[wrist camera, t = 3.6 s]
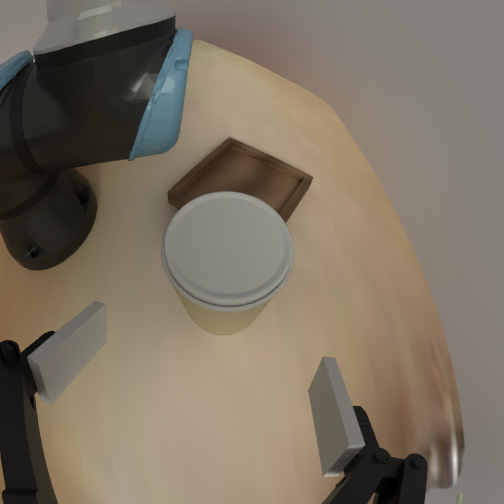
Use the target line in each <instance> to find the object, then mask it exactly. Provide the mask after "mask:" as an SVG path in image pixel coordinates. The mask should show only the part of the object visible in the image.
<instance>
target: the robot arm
mask: <svg viewBox="0 0 504 504" xmlns="http://www.w3.org/2000/svg"><path fill="white" fill-rule="evenodd" d="M46 6H47V17H48V24H47V26H46V29H45V30H44V32H43V33H42V35H41V37H40V38H39V40H38V42H37V43H36V45H35V47H34V49H33V53H34V57H33V56H32V55H31V54H30V52H29V51H28V50H25V51H23V52H20V53H18V54H16V55H15V56H13V57H12V58H10V59H9V60H7V61H6V62H4V63H3V64H1V65H0V231H1V234H2V237H3V239H4V242H5V245H6V247H7V249H8V251H9V253H10V254H11V255H12V257H13V258H14V259H15V260H16V261H17V262H18V263H19V264H20V265H22V266H23V267H25V268H27V269H30V270H44V269H48V268H51V267H53V266H56V265H58V264H59V263H61V262H63V261H64V260H66V259H67V258H68V257H69V256H71V255H72V254H73V253H74V252H75V251H76V250H77V249H78V248H79V247H80V245H81V244H82V243H83V241H84V240H85V239H86V237H87V235H88V234H89V232H90V230H91V228H92V226H93V223H94V220H95V216H96V209H97V205H96V199H95V196H94V193H93V191H92V189H91V186H90V184H89V183H88V181H87V180H86V179H85V178H84V177H83V176H82V175H81V174H80V173H79V172H78V171H77V170H76V169H75V167H80V166H86V165H91V164H97V163H104V162H110V161H117V160H124V159H128V161H132V160H134V159H135V158H137V157H143V156H149V155H156V154H162V153H165V152H167V151H169V150H170V149H171V148H172V147H173V146H174V145H175V144H176V142H177V140H178V137H179V132H180V126H181V119H182V111H183V104H184V96H185V89H186V81H187V69H188V66H189V58H190V54H191V47H192V40H193V33H192V31H191V30H188V29H184V28H183V27H179V28H178V29H175V14H176V11H175V9H174V8H172V7H171V6H170V5H168V4H167V3H166V2H165V1H163V0H46ZM34 58H35V62H34V63H33V59H34ZM106 341H107V339H106V304H103V303H100V302H98V301H94V302H93V303H92V304H90V305H89V306H88V307H87V308H85V309H84V310H83V311H82V312H80V313H79V314H78V315H77V316H75V317H74V318H73V319H72V320H70V321H69V322H68V323H67V324H66V325H64V326H63V327H62V328H61V329H60V330H58V331H57V332H54V331H50V332H47V333H44V334H43V335H42V336H41V337H39V339H37V340H36V341H35V342H34V343H32V344H31V345H30V346H28V347H27V348H26V349H25V350H24V351H23V352H21V353H20V349H19V345H18V344H17V343H16V342H14V341H11V340H5V341H2V342H0V454H1V462H2V469H3V475H4V481H5V487H6V488H5V490H4V491H2V499H3V503H4V504H58V502H57V499H56V496H55V493H54V490H53V487H52V483H51V480H50V476H49V473H48V469H47V465H46V461H45V457H44V452H43V447H42V442H41V437H40V431H39V425H38V417H37V409H36V400H35V396H34V394H35V393H36V392H37V391H38V393H39V396H40V399H42V400H43V401H45V402H47V403H48V404H50V405H52V404H53V403H54V402H55V400H56V399H57V398H58V397H59V396H60V394H61V393H62V392H63V391H64V390H65V388H66V387H67V386H68V385H69V384H70V383H71V381H72V380H73V379H74V378H75V377H76V375H77V374H78V373H79V372H80V371H81V370H82V369H83V367H84V366H85V365H86V364H87V363H88V362H89V360H90V359H91V358H92V357H93V356H94V355H95V354H96V353H97V351H98V350H99V349H100V348H101V347H102V346H103V345H104V344H105V342H106ZM308 393H309V398H310V404H311V409H312V415H313V420H314V426H315V431H316V437H317V443H318V449H319V455H320V461H321V467H322V473H323V476H338V475H339V474H340V473H341V472H342V471H344V475H345V476H344V477H343V479H342V480H341V481H340V482H339V483H338V484H337V485H335V486H336V487H335V489H334V490H333V491H332V492H331V493H330V495H329V496H328V497H327V498H326V499H325V501H324V502H323V503H322V504H367V503H368V501H369V500H370V498H371V497H372V495H373V493H374V492H375V497H374V500H373V504H424V501H425V492H426V481H427V461H426V460H425V458H424V457H423V456H421V455H419V454H410V455H408V456H407V457H406V458H405V459H400V458H393V457H391V456H390V454H389V453H388V452H387V451H386V450H385V449H383V448H380V447H379V445H378V442H377V440H376V437H375V434H374V431H373V429H372V427H371V424H370V421H369V418H368V416H367V413H366V412H365V411H364V410H363V408H362V407H361V406H352V404H351V401H350V398H349V395H348V392H347V389H346V387H345V384H344V381H343V378H342V376H341V373H340V370H339V367H338V365H337V362H336V359H335V358H330V357H323V358H322V360H321V363H320V365H319V367H318V370H317V372H316V374H315V376H314V378H313V381H312V383H311V385H310V387H309V389H308Z"/></svg>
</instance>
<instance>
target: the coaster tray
mask: <svg viewBox="0 0 504 504" xmlns="http://www.w3.org/2000/svg"><path fill="white" fill-rule="evenodd" d="M312 180H313V177H312V176H310V175H308V174H306V173H304V172H303V171H301V170H299V169H297V168H295V167H293V166H291V165H289V164H287V163H285V162H283V161H281V160H278V159H276V158H274V157H272V156H270V155H268V154H266V153H264V152H262V151H259V150H257V149H255V148H253V147H251V146H248V145H246V144H244V143H242V142H239V141H237V140H235V139H232V138H230V137H229V138H228V139H227V140H226V141H224V142H223V143H222V144H221V145H220V146H218V147H217V148H216V149H215V150H214V151H213V152H211V153H210V154H209V155H208V156H207V157H206V158H204V159H203V160H202V161H201V162H200V163H199V164H198V165H197V166H195V167H194V168H193V169H192V170H191V171H190V172H189V173H188V174H187V175H186V176H184V177H183V178H182V179H181V180H180V181H179V182H178V183H177V184H176V185H175V186H174V187H173V188H172V189H171V190H169V191H168V192H167V193H168V200H169V203H170V204H172V205H174V206H176V207H177V208H179V209H181V208H182V207H183V206H184V205H185V204H187V203H188V202H190V201H191V200H193V199H195V198H197V197H200V196H202V195H205V194H209V193H214V192H224V191H229V192H239V193H243V194H247V195H250V196H253V197H255V198H258V199H260V200H262V201H263V202H265V203H266V204H268V205H269V206H270V207H272V208H273V209H274V210H275V211H276V212H277V213H278V214H279V215H280V216H281V218H282V219H283V220H284V222H285V224H286V222H287V220H288V219H289V217H290V216H291V214H292V213H293V211H294V210H295V208H296V207H297V205H298V204H299V202H300V201H301V199H302V198H303V196H304V195H305V193H306V191H307V190H308V188H309V187H310V185H311V182H312Z"/></svg>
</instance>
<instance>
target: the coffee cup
mask: <svg viewBox="0 0 504 504" xmlns="http://www.w3.org/2000/svg"><path fill="white" fill-rule="evenodd" d="M161 256H162V263H163V266H164V269H165V272H166V274H167V276H168V278H169V280H170V281H171V283H172V284H173V286H174V287H175V289H176V291H177V293H178V295H179V297H180V299H181V301H182V303H183V304H184V306H185V308H186V310H187V312H188V313H189V315H190V317H191V318H192V320H193V321H194V322H195V323H196V324H197V325H198V326H199V327H200V328H202V329H203V330H205V331H207V332H209V333H211V334H215V335H232V334H236V333H238V332H240V331H242V330H244V329H245V328H246V327H248V326H249V325H250V324H251V323H252V322H253V321H254V320H255V319H256V317H257V316H258V315H259V314H260V312H261V311H262V310H263V309H264V307H265V306H266V305H267V304H268V303H269V301H270V300H271V299H272V297H273V296H274V295H275V294H276V293H277V292H278V291H279V290H280V289H281V288H282V287H283V286H284V284H285V283H286V281H287V279H288V277H289V275H290V273H291V270H292V267H293V261H294V246H293V241H292V238H291V235H290V232H289V230H288V227H287V225H286V224H285V222H284V220H283V219H282V218H281V216H280V215H279V214H278V213H277V212H276V211H275V210H274V209H273V208H272V207H270V206H269V205H268V204H266V203H265V202H263V201H262V200H260V199H258V198H255V197H253V196H250V195H247V194H243V193H239V192H229V191H224V192H214V193H209V194H205V195H202V196H200V197H197V198H195V199H193V200H191V201H190V202H188V203H187V204H185V205H184V206H183V207H182V208H181V209H180V210H179V211H178V212H177V213H176V214H175V215H174V217H173V218H172V219H171V221H170V223H169V224H168V226H167V228H166V230H165V233H164V235H163V239H162V246H161Z"/></svg>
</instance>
